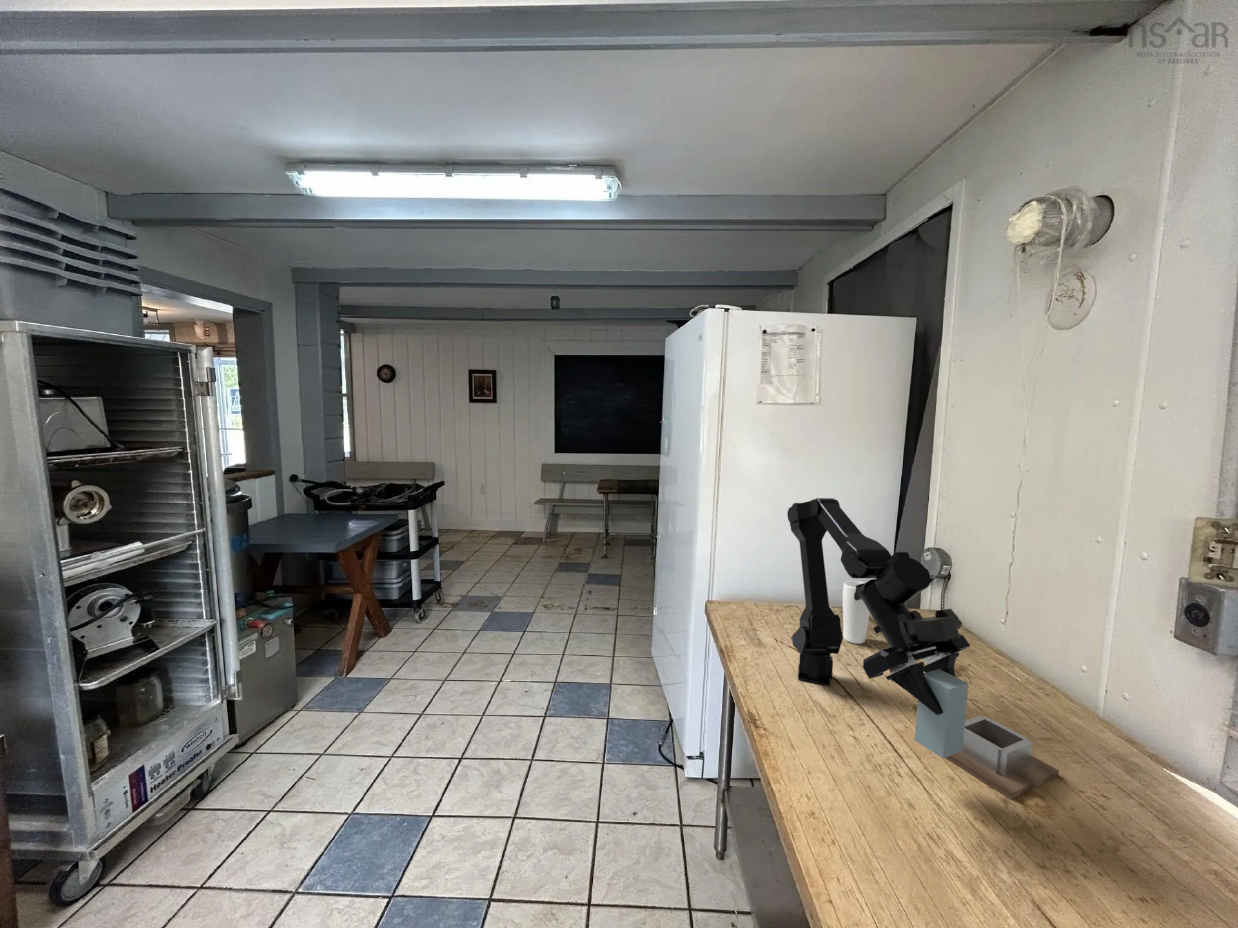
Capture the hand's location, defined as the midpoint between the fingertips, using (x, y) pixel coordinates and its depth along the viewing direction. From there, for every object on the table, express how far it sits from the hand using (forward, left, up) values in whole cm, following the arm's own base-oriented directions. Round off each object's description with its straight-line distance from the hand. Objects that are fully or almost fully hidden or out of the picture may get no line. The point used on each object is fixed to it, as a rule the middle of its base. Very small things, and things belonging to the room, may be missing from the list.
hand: (950, 710), depth 75 cm
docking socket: (+9, +11, -13) cm, 20 cm away
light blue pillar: (-1, +1, -7) cm, 7 cm away
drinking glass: (-9, +53, -14) cm, 56 cm away
